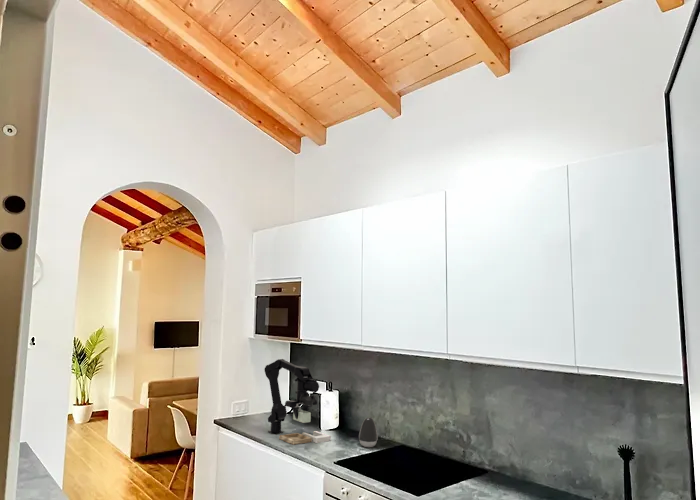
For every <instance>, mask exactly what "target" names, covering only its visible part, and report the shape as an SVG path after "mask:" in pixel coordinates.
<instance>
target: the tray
mask: <svg viewBox="0 0 700 500" xmlns="http://www.w3.org/2000/svg"><path fill="white" fill-rule="evenodd" d="M278 438H279V440H280V441H282V440H283V441H282V442H285V443H287V444H290V445H293V446H295V445H302V444H307V443H308V444H309V443H313V442H312V438H310V437H307V436H304V435H302V433H299V432H294V433H287V434H282V435H279V437H278Z"/></svg>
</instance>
